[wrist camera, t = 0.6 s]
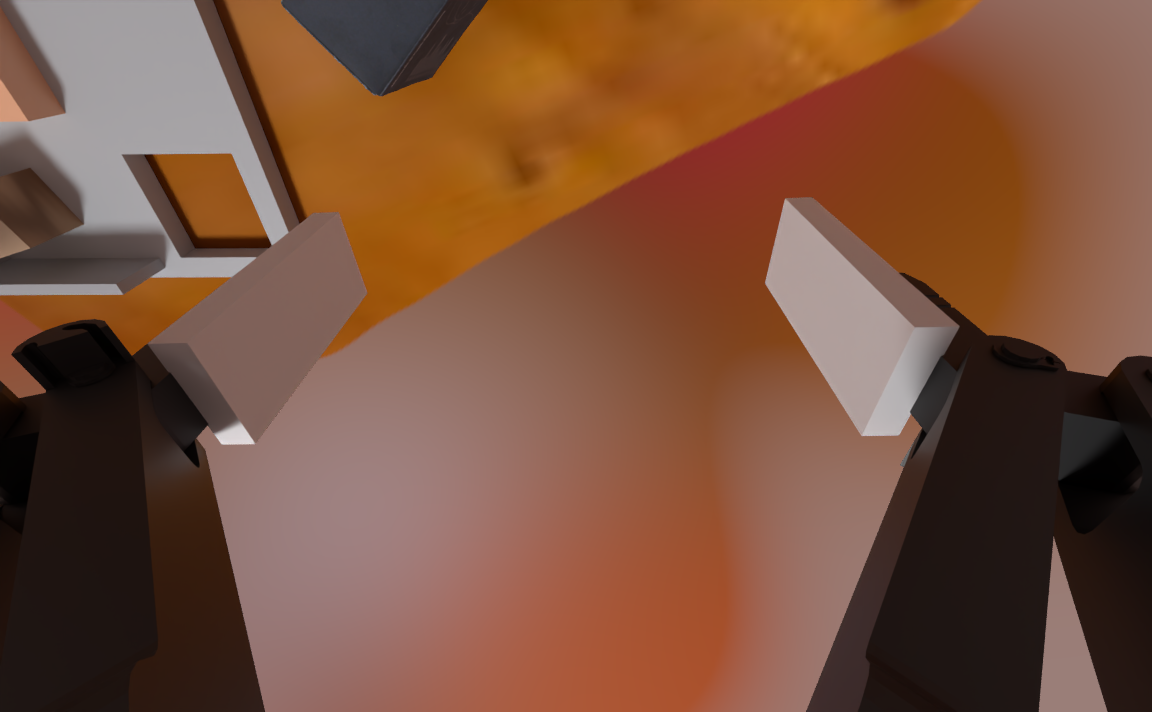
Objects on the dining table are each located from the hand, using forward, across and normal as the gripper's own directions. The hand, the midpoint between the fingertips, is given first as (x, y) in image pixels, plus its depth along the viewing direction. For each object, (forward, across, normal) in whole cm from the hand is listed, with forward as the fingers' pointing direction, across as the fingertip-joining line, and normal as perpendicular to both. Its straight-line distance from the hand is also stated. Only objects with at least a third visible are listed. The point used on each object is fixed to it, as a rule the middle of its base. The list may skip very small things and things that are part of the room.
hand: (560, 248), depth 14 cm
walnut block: (+26, -47, -6) cm, 54 cm away
